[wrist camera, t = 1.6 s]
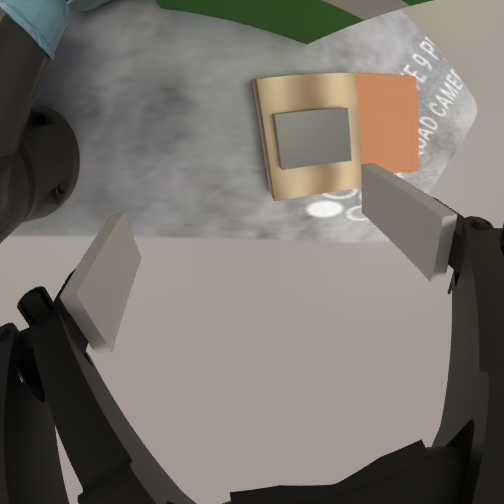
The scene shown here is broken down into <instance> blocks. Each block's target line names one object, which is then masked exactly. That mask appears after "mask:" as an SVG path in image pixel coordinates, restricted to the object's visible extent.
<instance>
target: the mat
mask: <svg viewBox="0 0 504 504" xmlns="http://www.w3.org/2000/svg"><path fill="white" fill-rule="evenodd" d="M355 83H356V92H357V102H358V114H359V127H360V144H361V164H368V163H375V164H377V165H378V166H380V167H382V168H384V169H386V170H387V171H389V172H391V173H400V172H410V171H418V145H419V139H418V104H417V89H416V77H413V76H401V75H385V74H355Z"/></svg>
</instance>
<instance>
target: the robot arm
mask: <svg viewBox="0 0 504 504" xmlns="http://www.w3.org/2000/svg"><path fill="white" fill-rule="evenodd" d="M69 20H70V8H69V6H68V4H67V2H66V1H65V0H0V243H1V242H2V241H3V240H4V239H5V238H6V237H7V236H8V235H9V234H10V233H11V232H13V231H14V230H15V229H16V228H17V227H18V226H19V225H20V224H21V223H22V222H26V221H30V220H34V219H38V218H42V217H45V216H47V215H49V214H51V213H52V212H54V211H55V210H56V209H57V208H58V207H60V206H61V205H62V204H63V203H64V202H65V201H66V200H67V198H68V197H69V196H70V194H71V193H72V191H73V189H74V186H75V184H76V181H77V177H78V172H79V150H78V145H77V142H76V138H75V136H74V133H73V131H72V129H71V128H70V126H69V124H68V123H67V122H66V121H65V119H64V118H63V117H62V116H61V115H59V114H58V113H57V112H55V111H53V110H51V109H49V108H45V107H32V105H33V103H34V100H35V97H36V95H37V92H38V90H39V87H40V85H41V82H42V80H43V78H44V76H45V73H46V71H47V69H48V67H49V65H50V62H51V61H53V60H54V58H55V51H56V49H57V46H58V44H59V42H60V39H61V37H62V35H63V33H64V31H65V29H66V27H67V25H68V23H69ZM361 183H362V213H363V214H364V215H365V216H366V217H367V218H368V219H369V220H370V221H371V222H372V223H374V224H375V225H376V226H377V227H378V228H379V229H380V230H381V231H382V232H383V233H384V234H385V235H386V236H387V237H388V238H389V239H390V240H391V241H392V242H393V243H394V244H395V245H396V246H397V247H398V248H399V249H400V250H401V251H402V252H403V253H404V254H405V255H406V256H407V257H408V258H409V259H410V260H411V262H412V263H413V264H414V265H415V266H416V267H417V268H418V269H419V270H420V271H421V272H422V273H423V274H424V275H425V276H426V278H427V279H428V280H429V281H430V282H434V281H437V280H439V279H442V278H445V276H446V271H447V267H448V265H450V266H451V267H452V268H453V269H454V272H453V275H452V279H451V283H450V286H449V290H448V294H450V292H451V290H452V335H451V351H450V363H449V373H448V382H447V390H446V397H445V403H444V409H443V415H442V420H441V425H440V428H439V431H438V433H437V435H436V437H435V440H434V442H433V445H432V447H426V448H425V446H424V444H423V442H422V440H419V441H417V442H415V443H413V444H411V445H408V446H406V447H404V448H401V449H399V450H397V451H395V452H392V453H389V454H387V455H384V456H382V457H380V458H378V459H377V460H375V461H374V462H372V463H370V464H369V465H367V466H366V467H364V468H363V469H361V470H359V471H358V472H356V473H354V474H353V475H351V476H349V477H347V478H346V479H344V480H342V481H340V482H339V483H336V484H332V485H316V486H315V485H314V486H285V485H279V486H273V487H267V488H261V489H254V490H246V491H238V492H230V497H231V501H228V502H225V503H223V504H504V224H503V228H493V226H492V224H491V223H490V222H488V221H487V220H485V219H483V218H480V217H474V216H470V217H466V218H464V217H463V216H461V215H460V214H458V213H457V212H456V211H454V210H452V209H451V208H449V207H448V206H447V205H445V204H443V203H442V202H440V201H439V200H438V199H436V198H433V197H431V196H429V195H428V194H426V193H424V192H423V191H421V190H420V189H418V188H416V187H415V186H413V185H411V184H410V183H408V182H406V181H405V180H403V179H401V178H400V177H398V176H396V175H394V174H393V173H391V172H389V171H387V170H386V169H384V168H382V167H380V166H378V165H377V164H375V163H368V164H361ZM140 260H141V256H140V253H139V251H138V248H137V245H136V243H135V240H134V238H133V235H132V232H131V230H130V227H129V224H128V221H127V219H126V216H125V213H124V212H122V213H118V214H115V215H111V216H110V218H109V219H108V221H107V222H106V224H105V225H104V226H103V228H102V229H101V231H100V232H99V234H98V235H97V237H96V238H95V240H94V241H93V243H92V244H91V246H90V248H89V249H88V251H87V252H86V254H85V255H84V257H83V258H82V260H81V262H80V263H79V265H78V266H77V268H76V269H75V270H74V271H73V272H71V274H70V275H69V276H68V278H67V279H66V281H65V284H64V285H63V286H62V288H61V290H60V291H59V293H58V295H57V296H56V298H55V300H54V302H53V301H52V299H51V297H50V296H49V294H48V292H47V291H46V289H45V288H44V287H41V286H40V287H36V288H34V289H32V290H30V291H29V292H27V293H26V294H25V295H24V296H23V297H22V298H21V299H20V301H19V302H18V305H17V308H18V310H19V311H20V313H21V314H22V315H23V317H24V319H25V320H26V322H27V323H28V325H29V328H27V329H24V330H22V331H20V332H19V330H18V329H17V327H16V326H15V325H14V324H13V323H8V324H5V325H3V326H1V327H0V504H69V501H68V497H67V493H66V489H65V484H64V480H63V476H62V470H61V465H60V459H59V453H58V446H57V439H56V431H55V426H56V429H57V431H58V434H59V436H60V439H61V441H62V444H63V446H64V449H65V451H66V453H67V456H68V458H69V460H70V462H71V465H72V467H73V469H74V471H75V473H76V475H77V477H78V479H79V481H80V483H81V485H82V488H83V493H81V494H80V495H78V503H79V504H196V503H195V502H194V501H192V500H191V499H190V498H189V497H188V496H187V495H185V494H184V493H183V492H182V491H181V490H180V489H179V487H178V486H177V485H176V484H175V483H174V482H173V480H172V479H171V478H170V477H169V476H168V475H167V474H166V472H165V471H164V470H163V468H162V467H161V466H160V465H159V463H158V462H157V461H156V460H155V458H154V457H153V456H152V454H151V453H150V452H149V451H148V449H147V448H146V446H145V445H144V444H143V443H142V441H141V439H140V438H139V437H138V435H137V434H136V432H135V431H134V430H133V428H132V427H131V425H130V424H129V422H128V421H127V419H126V418H125V416H124V414H123V413H122V411H121V410H120V408H119V407H118V405H117V404H116V402H115V400H114V399H113V397H112V395H111V394H110V392H109V390H108V388H107V387H106V385H105V383H104V382H103V380H102V378H101V376H100V374H99V373H98V371H97V369H96V367H95V365H94V363H93V361H92V359H91V357H90V356H89V355H88V353H86V348H87V345H88V343H89V344H90V346H91V347H92V349H93V350H94V351H95V353H105V352H112V351H113V347H114V344H115V340H116V336H117V333H118V329H119V326H120V322H121V319H122V316H123V312H124V309H125V306H126V303H127V299H128V296H129V293H130V290H131V287H132V284H133V281H134V278H135V275H136V272H137V269H138V266H139V263H140ZM20 378H21V379H22V381H21V380H20Z"/></svg>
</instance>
